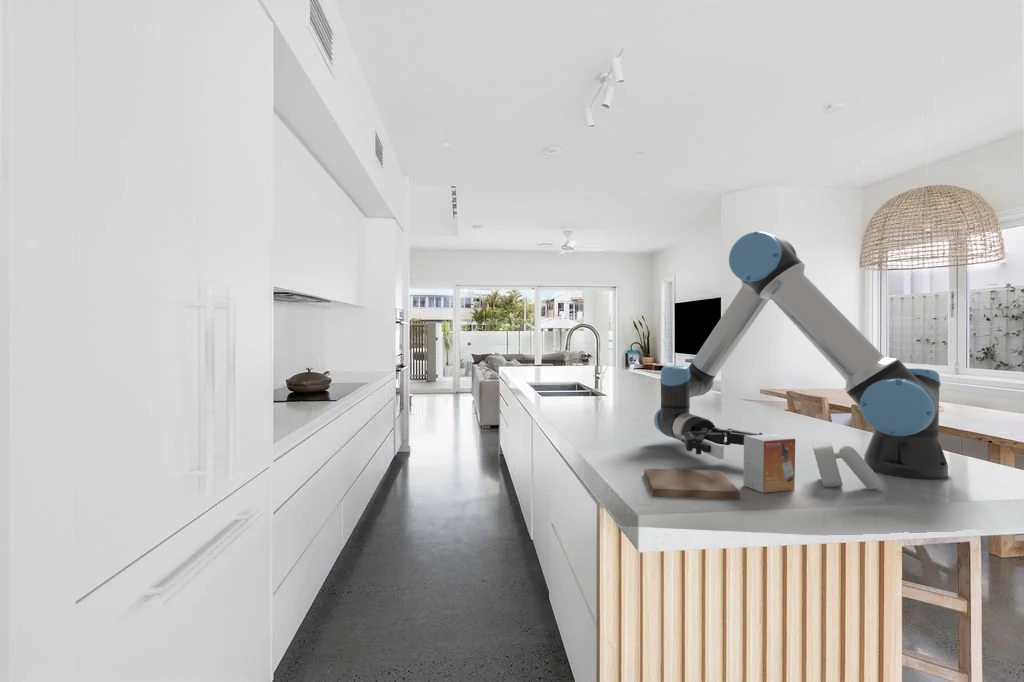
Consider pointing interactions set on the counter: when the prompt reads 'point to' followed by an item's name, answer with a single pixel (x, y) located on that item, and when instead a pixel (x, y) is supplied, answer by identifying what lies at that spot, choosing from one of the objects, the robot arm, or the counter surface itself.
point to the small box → (769, 462)
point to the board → (690, 484)
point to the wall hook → (850, 457)
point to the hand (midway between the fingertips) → (750, 450)
